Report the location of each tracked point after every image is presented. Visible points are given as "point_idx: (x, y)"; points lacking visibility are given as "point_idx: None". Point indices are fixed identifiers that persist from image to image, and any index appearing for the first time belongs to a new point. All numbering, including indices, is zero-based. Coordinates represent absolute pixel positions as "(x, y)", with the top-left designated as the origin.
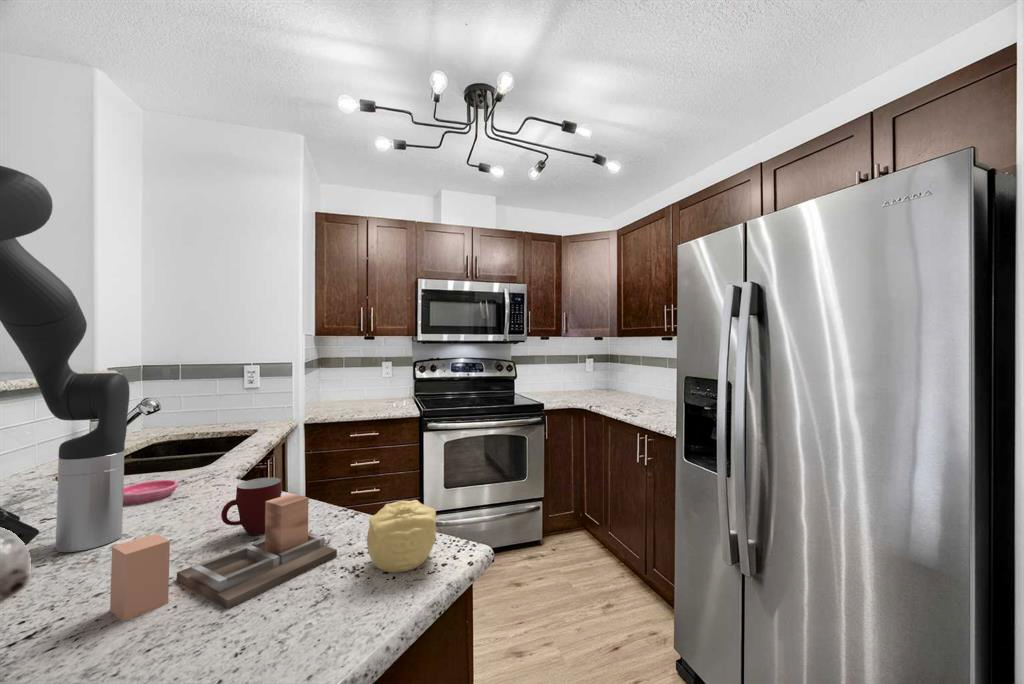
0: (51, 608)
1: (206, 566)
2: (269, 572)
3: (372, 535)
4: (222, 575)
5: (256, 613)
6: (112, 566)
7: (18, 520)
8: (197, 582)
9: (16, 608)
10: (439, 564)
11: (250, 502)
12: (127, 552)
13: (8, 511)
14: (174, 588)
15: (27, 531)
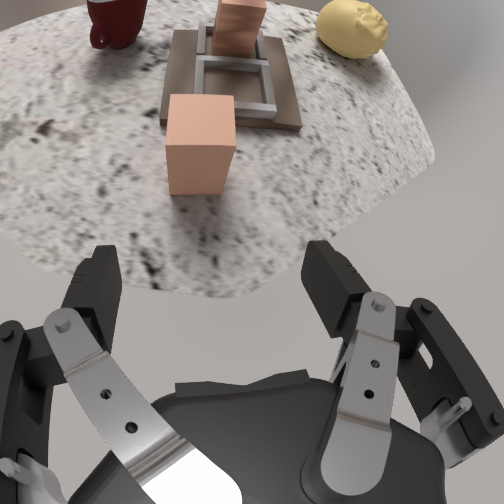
0: (88, 237)
1: None
2: (272, 79)
3: (367, 39)
4: None
5: (330, 127)
6: (171, 163)
7: (339, 271)
8: None
9: (48, 264)
10: None
11: (130, 12)
12: (227, 141)
13: (91, 263)
14: None
15: (347, 261)
